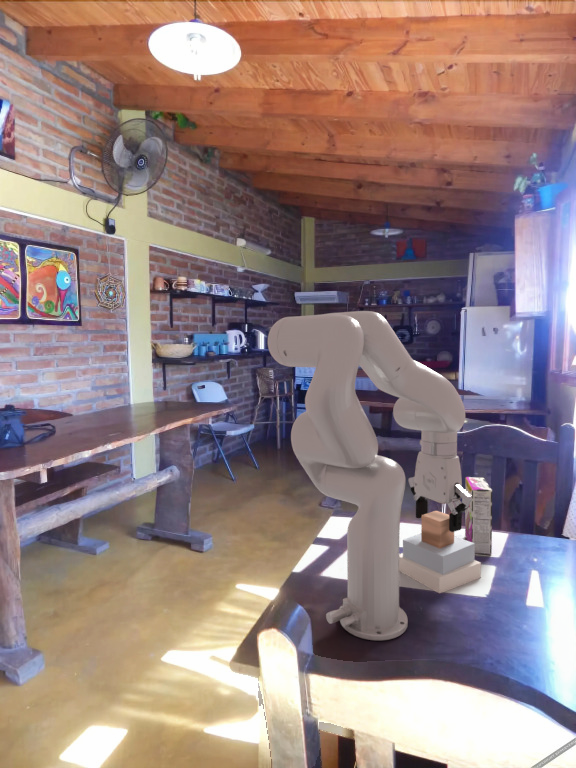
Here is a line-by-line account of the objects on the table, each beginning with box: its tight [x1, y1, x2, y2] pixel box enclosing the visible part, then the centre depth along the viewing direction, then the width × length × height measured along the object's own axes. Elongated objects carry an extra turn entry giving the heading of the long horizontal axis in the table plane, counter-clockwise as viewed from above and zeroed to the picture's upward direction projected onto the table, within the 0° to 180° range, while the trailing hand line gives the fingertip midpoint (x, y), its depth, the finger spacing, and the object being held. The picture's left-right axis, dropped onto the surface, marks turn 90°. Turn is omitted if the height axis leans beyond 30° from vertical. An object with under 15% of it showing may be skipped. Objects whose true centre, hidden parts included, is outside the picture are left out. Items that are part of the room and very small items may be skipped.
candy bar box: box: [464, 476, 493, 556], centre depth 124 cm, size 11×5×16 cm, turn 168°
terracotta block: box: [420, 510, 455, 549], centre depth 109 cm, size 5×5×6 cm
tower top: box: [402, 533, 476, 575], centre depth 110 cm, size 11×11×4 cm
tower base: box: [399, 552, 482, 594], centre depth 110 cm, size 13×13×4 cm
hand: (437, 523), depth 109 cm, fingers open, 9 cm apart
